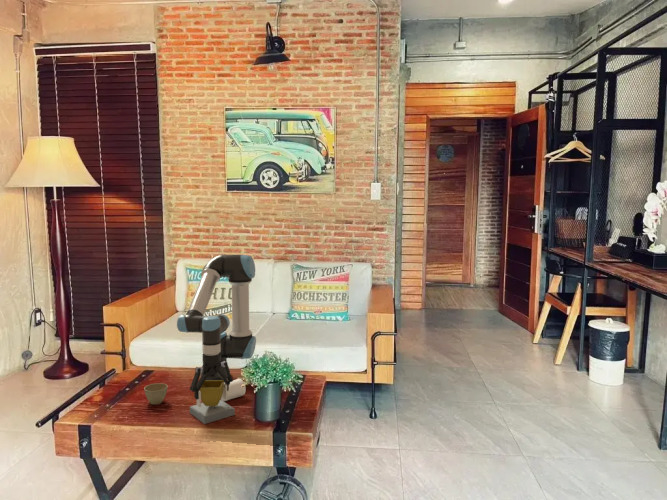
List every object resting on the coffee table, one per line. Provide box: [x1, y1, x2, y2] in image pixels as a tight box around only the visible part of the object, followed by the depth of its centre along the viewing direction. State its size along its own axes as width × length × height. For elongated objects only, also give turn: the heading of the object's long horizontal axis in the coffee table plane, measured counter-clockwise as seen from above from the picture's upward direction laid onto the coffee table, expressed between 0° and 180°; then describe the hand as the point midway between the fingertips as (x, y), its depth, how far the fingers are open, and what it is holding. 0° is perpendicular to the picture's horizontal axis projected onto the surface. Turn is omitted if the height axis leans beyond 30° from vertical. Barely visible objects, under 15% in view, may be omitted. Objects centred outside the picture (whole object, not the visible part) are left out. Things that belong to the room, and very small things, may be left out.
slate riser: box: [189, 399, 236, 425], centre depth 207 cm, size 14×14×3 cm
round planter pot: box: [143, 382, 169, 405], centre depth 217 cm, size 10×10×7 cm
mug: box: [221, 378, 246, 402], centre depth 225 cm, size 12×10×8 cm
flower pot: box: [199, 380, 224, 406], centre depth 206 cm, size 9×9×9 cm
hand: (212, 402), depth 206 cm, fingers closed on flower pot, 11 cm apart
